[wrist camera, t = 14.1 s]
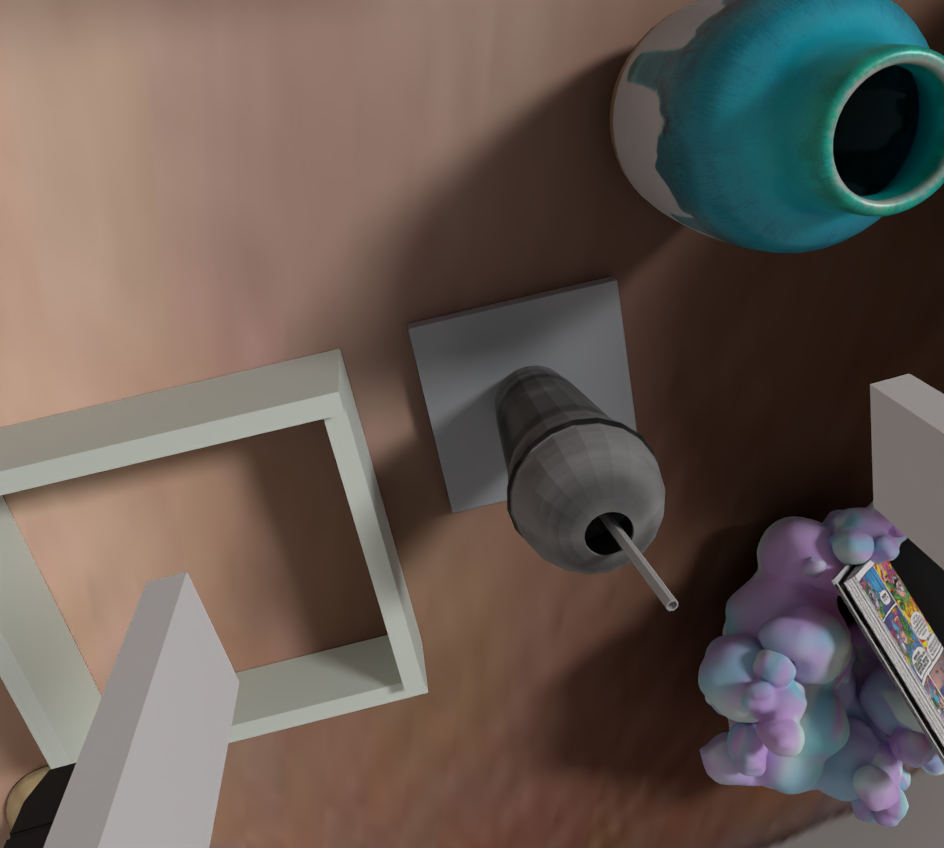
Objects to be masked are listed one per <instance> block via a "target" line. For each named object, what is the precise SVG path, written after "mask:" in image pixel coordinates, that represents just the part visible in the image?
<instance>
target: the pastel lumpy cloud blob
mask: <svg viewBox="0 0 944 848" xmlns="http://www.w3.org/2000/svg"><path fill="white" fill-rule="evenodd" d="M757 561H758V570H757V572H756V573H755V574H754V576H753V577H752V578H751V579H750V580H749V581H748V582H746V583H745V584H744V585H743V586H742V587H741V588H739V589H738V590H737V591H736V592H735V593H734V594H733V595H732V596H731V597H730V598H729V600H728V601H727V603H726V610H725V614H726V621H725V624H724V626H723V633H722V634H723V636H720V637H718V638H716V639H714V640H713V641H712V642H711V643H710V644H709V646H708V647H707V649H706V653H705V657H704V659H703V661H702V663H701V665H700V668H699V674H698V684H699V687H700V690H701V692H702V693H703V694H704V695H705V700H706V702H707V703H708V704H709V705H711V706H712V707H713V709H714V710H715V711H716V712H717V713H718V714H720V715H723V716H726V717H727V718H728V722H729V732H723V733H720V734H718V735H716V736H715V737H713V738H712V739H711V740H710V742H708V743H707V744H706V745H704V746H703V747H702V748H701V749H699V750H700V754H701V757H702V762H703V765H704V768H705V770H706V772H707V775H708V776H710V777H711V778H712V779H713V780H714V781H716V782H718V783H720V784H725V785H744V786H765V787H768V788H771V789H776V790H777V791H779V792H782V793H785V794H798V793H802V792H805V791H809V790H817V789H818V790H820V791H821V792H823V793H825V794H827V795H828V796H831V797H833V798H836V799H838V800H842V801H850V802H851V804H852V809H853V812H854V814H855V817H857V818H858V819H860V820H863V821H866V822H873V823H878V824H880V825H883V826H890V827H892V826H896V825H897V824H898V823H899V821H900V820H901V819H902V818H903V817H904V816H905V814H906V812H907V810H908V807H909V806H908V802H907V799H906V796H905V794H904V792H903V790H906V789H907V788H908V787H909V785H910V773H909V772H908V770H907V769H906V768H905V766H904V765H903V762H904V763H905V764H907V765H909V766H911V767H922V768H923V769H924V770H925V771H926V772H927V773H928V774H930V775H941V774H943V773H944V570H943V569H942V568H941V567H940V566H939V565H938V564H936V563H935V562H934V561H933V560H932V559H931V558H930V557H929V556H927V555H926V554H925V553H924V552H923V551H922V550H921V549H920V548H919V547H917V546H916V545H915V544H914V543H913V542H912V541H911V540H910V539H909V538H907V537H906V536H905V535H904V534H903V533H902V532H901V531H900V530H899V529H897V528H896V527H895V526H894V525H893V524H892V523H891V522H890V521H889V520H887V519H886V518H885V517H884V516H883V515H882V514H881V513H880V512H879V511H877V510H876V509H875V508H874V505H873V501H872V502H871V504H870V505H869V506H867V507H866V508H847V509H845V510H834V511H831V512H830V513H829V514H828V516H827V517H826V518H825V520H824V521H823V523H821V522H818V521H816V520H813V519H809V518H804V517H796V516H792V517H785V518H782V519H780V520H778V521H776V522H775V523H773V524H772V525H770V526H769V527H768V529H767V530H766V531H765V532H764V534H763V536H762V537H761V540H760V542H759V545H758V548H757ZM838 596H841V597H842V599H843V600H844V602H845V604H846V605H847V607H848V609H849V610H850V612H851V614H852V615H853V617H854V620H853V622H851V623H846V622H845V620H844V618H843V617H842V615H841V613H840V612H839V609H838V605H837V597H838Z"/></svg>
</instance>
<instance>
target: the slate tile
mask: <svg viewBox="0 0 944 848" xmlns="http://www.w3.org/2000/svg"><path fill="white" fill-rule="evenodd" d="M407 326H408V331H409V335H410V339H411V343H412V347H413V351H414V355H415V360H416V364H417V368H418V372H419V376H420V380H421V384H422V389H423V393H424V397H425V401H426V405H427V409H428V413H429V418H430V422H431V426H432V430H433V434H434V438H435V442H436V447H437V451H438V455H439V459H440V463H441V467H442V471H443V476H444V480H445V484H446V488H447V492H448V496H449V500H450V505H451V509H452V513H456V512H460V511H464V510H469V509H473V508H477V507H481V506H485V505H489V504H493V503H497V502H501V501H505V500H507V486H508V473H507V468H506V463H505V459H504V454H503V450H502V445H501V440H500V436H499V431H498V426H497V422H496V411H495V398H496V395H497V391H498V388H499V387H500V385H501V384H502V382H503V381H504V380H505V378H507V377H508V376H509V375H510V374H512V373H513V372H514V371H516V370H518V369H521V368H523V367H526V366H536V365H539V366H543V367H548V368H551V369H552V370H554V371H556V372H557V373H559V374H560V375H561V376H562V377H564V378H565V379H567V380H568V381H570V382H571V383H572V384H573V385H574V386H575V387H576V388H577V389H578V390H580V391H581V392H582V393H583V394H584V395H585V396H586V397H587V398H588V399H589V400H591V401H592V402H593V403H594V404H595V405H596V406H597V407H598V408H599V409H600V410H602V411H603V412H604V413H605V414H606V415H607V416H608V417H609V418H611V419H613V420H615V421H616V422H621V423H623V424H624V425H626V426H627V427H629V428H631V429H632V430H634V431H636V432H637V429H636V421H635V413H634V406H633V398H632V390H631V383H630V375H629V367H628V360H627V352H626V344H625V337H624V329H623V321H622V314H621V306H620V298H619V291H618V283H617V280H616V279H615V278H614V277H612V276H611V277H606V278H602V279H598V280H594V281H589V282H585V283H581V284H576V285H572V286H568V287H564V288H559V289H555V290H551V291H546V292H542V293H538V294H534V295H529V296H525V297H521V298H517V299H512V300H508V301H504V302H499V303H495V304H491V305H487V306H482V307H478V308H474V309H469V310H465V311H461V312H457V313H452V314H448V315H444V316H439V317H435V318H431V319H427V320H422V321H418V322H414V323H409V324H407Z"/></svg>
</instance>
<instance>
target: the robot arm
mask: <svg viewBox="0 0 944 848" xmlns="http://www.w3.org/2000/svg"><path fill="white" fill-rule="evenodd" d="M870 404H871V438H872V471H873V505H874V508H875V509H876V510H877V511H879V512H880V513H881V514H882V515H883V516H884V517H885V518H886V519H887V520H889V521H890V522H891V523H892V524H893V525H894V526H895V527H896V528H897V529H899V530H900V531H901V532H902V533H903V534H904V535H905V536H906V537H907V538H909V539H910V540H911V541H912V542H913V543H914V544H915V545H916V546H917V547H919V548H920V549H921V550H922V551H923V552H924V553H925V554H926V555H927V556H929V557H930V558H931V559H932V560H933V561H934V562H935V563H936V564H938V565H939V566H940V567H941V568H942V569H943V570H944V394H943V393H941V392H939V391H938V390H936V389H934V388H933V387H931V386H929V385H928V384H926V383H924V382H923V381H921V380H919V379H918V378H916V377H914V376H913V375H911V374H905V375H902V376H898V377H895V378H891V379H887V380H884V381H880V382H876V383H873V384H870ZM238 687H239V680H238V678H237V676H236V674H235V672H234V670H233V667H232V665H231V663H230V661H229V659H228V657H227V655H226V653H225V651H224V649H223V646H222V644H221V642H220V640H219V638H218V636H217V634H216V632H215V630H214V628H213V625H212V623H211V621H210V619H209V617H208V615H207V613H206V611H205V609H204V607H203V605H202V602H201V600H200V598H199V596H198V594H197V592H196V590H195V588H194V586H193V584H192V581H191V579H190V577H189V575H188V573H187V572H183V573H179V574H176V575H172V576H168V577H165V578H161V579H157V580H154V581H150V582H146V585H145V587H144V590H143V593H142V595H141V598H140V600H139V603H138V605H137V608H136V611H135V613H134V616H133V618H132V621H131V623H130V626H129V629H128V631H127V634H126V636H125V639H124V641H123V644H122V647H121V649H120V652H119V654H118V657H117V659H116V662H115V665H114V667H113V670H112V672H111V675H110V677H109V680H108V683H107V685H106V688H105V690H104V693H103V695H102V698H101V701H100V703H99V706H98V708H97V711H96V713H95V716H94V719H93V721H92V724H91V726H90V729H89V731H88V734H87V737H86V739H85V742H84V744H83V747H82V749H81V752H80V755H79V757H78V760H77V762H76V763H73V764H69V765H65V766H62V767H58V768H54V769H51V770H49V771H48V772H47V773H46V775H45V776H44V777H43V778H42V780H41V781H40V782H39V783H38V785H37V786H36V787H35V788H34V790H33V791H32V792H31V793H30V795H29V796H28V797H27V798H26V800H25V801H24V802H23V805H22V807H21V809H20V812H19V814H18V816H17V818H16V821H15V823H14V825H13V828H12V830H11V832H10V835H11V838H10V839H9V840H7V841H6V844H5V846H4V848H209V846H210V840H211V835H212V830H213V824H214V819H215V813H216V808H217V802H218V797H219V791H220V786H221V780H222V775H223V769H224V764H225V758H226V753H227V748H228V742H229V737H230V731H231V726H232V720H233V715H234V709H235V704H236V698H237V693H238Z"/></svg>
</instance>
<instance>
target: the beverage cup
mask: <svg viewBox="0 0 944 848" xmlns="http://www.w3.org/2000/svg"><path fill="white" fill-rule="evenodd" d="M495 411H496V422H497V426H498V431H499V436H500V440H501V445H502V450H503V454H504V459H505V463H506V468H507V473H508V486H507V510H508V512H509V515H510V517H511V520H512V522H513V525H514V527H515V529H516V531H517V532H518V533H519V534H520V535H521V536H522V537H523V538H524V539H525V540H526V541H527V542H528V544H529V545H530V546H531V547H532V548H533V549H534V550H535V551H536V552H537V553H538V554H539V555H540V556H541V557H542V558H543V559H545V560H547V561H548V562H550V563H552V564H554V565H556V566H558V567H560V568H562V569H564V570H567V571H573V572H579V573H585V574H596V573H605V572H610V571H613V570H615V569H618V568H620V567H623V566H625V565H627V564H629V563H630V562H631V561H632V563H633V564H634V565H635V567H636V568H637V569H638V571H639V572H640V573H641V575H642V576H643V577H644V579H645V580H646V582H647V583H648V584H649V586H650V587H651V588H652V590H653V591H654V592H655V594H656V595H657V596H658V598H659V599H660V601H661V602H662V603H663V605H664V606H665V607H666V609H667V610H669V611H674V610H675V609H676V608H677V607H678V601H677V600H676V599H675V597H674V596H673V595H672V593H671V592H670V591H669V589H668V588H667V587H666V585H665V584H664V583H663V582H662V580H661V579H660V578H659V576H658V575H657V574H656V572H655V571H654V570H653V568H652V567H651V566H650V564H649V563H648V562H647V560H646V559H645V558H644V556H643V555H642V553H643V552H644V551H645V550H646V548H647V547H648V546H649V545H650V543H651V542H652V541H653V540H654V538H655V536H656V534H657V531H658V529H659V526H660V524H661V521H662V519H663V516H664V503H665V487H664V483H663V480H662V477H661V473H660V470H659V467H658V464H657V460H656V457H655V454H654V451H653V450H652V448H651V447H650V446H649V445H648V443H647V442H646V441H645V440H644V438H643V437H642V436H641V435H640V434H639V433H637V432H636V431H634V430H632V429H631V428H629V427H627V426H626V425H624V424H623V423H621V422H616V421H615V420H613V419H611V418H609V417H608V416H607V415H606V414H605V413H604V412H603V411H602V410H600V409H599V408H598V407H597V406H596V405H595V404H594V403H593V402H592V401H591V400H589V399H588V398H587V397H586V396H585V395H584V394H583V393H582V392H581V391H580V390H578V389H577V388H576V387H575V386H574V385H573V384H572V383H571V382H570V381H568V380H567V379H565V378H564V377H562V376H561V375H560V374H559V373H557V372H556V371H554V370H552V369H551V368H548V367H543V366H539V365H536V366H526V367H523V368H521V369H518V370H516V371H514V372H513V373H512V374H510V375H509V376H508V377H507V378H505V380H504V381H503V382H502V384H501V385H500V387H499V388H498V391H497V395H496V398H495Z"/></svg>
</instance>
